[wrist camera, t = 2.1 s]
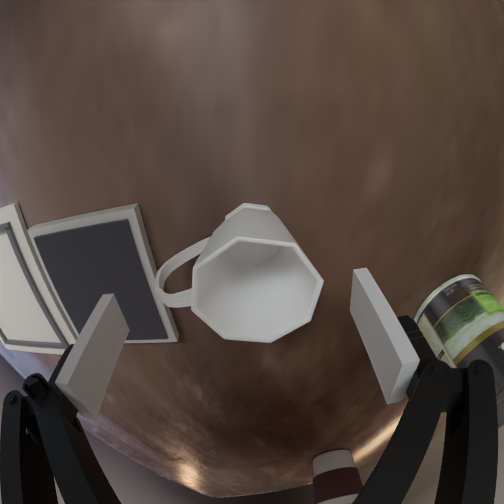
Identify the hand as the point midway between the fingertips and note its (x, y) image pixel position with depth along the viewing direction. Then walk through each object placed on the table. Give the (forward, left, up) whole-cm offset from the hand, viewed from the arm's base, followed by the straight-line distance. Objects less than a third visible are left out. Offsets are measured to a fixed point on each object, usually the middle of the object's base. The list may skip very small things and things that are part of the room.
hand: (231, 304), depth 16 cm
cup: (0, 0, -8) cm, 8 cm away
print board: (+3, -26, -8) cm, 27 cm away
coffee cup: (+46, +11, -8) cm, 48 cm away
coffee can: (+12, +22, -8) cm, 26 cm away
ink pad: (+3, -12, -8) cm, 15 cm away
